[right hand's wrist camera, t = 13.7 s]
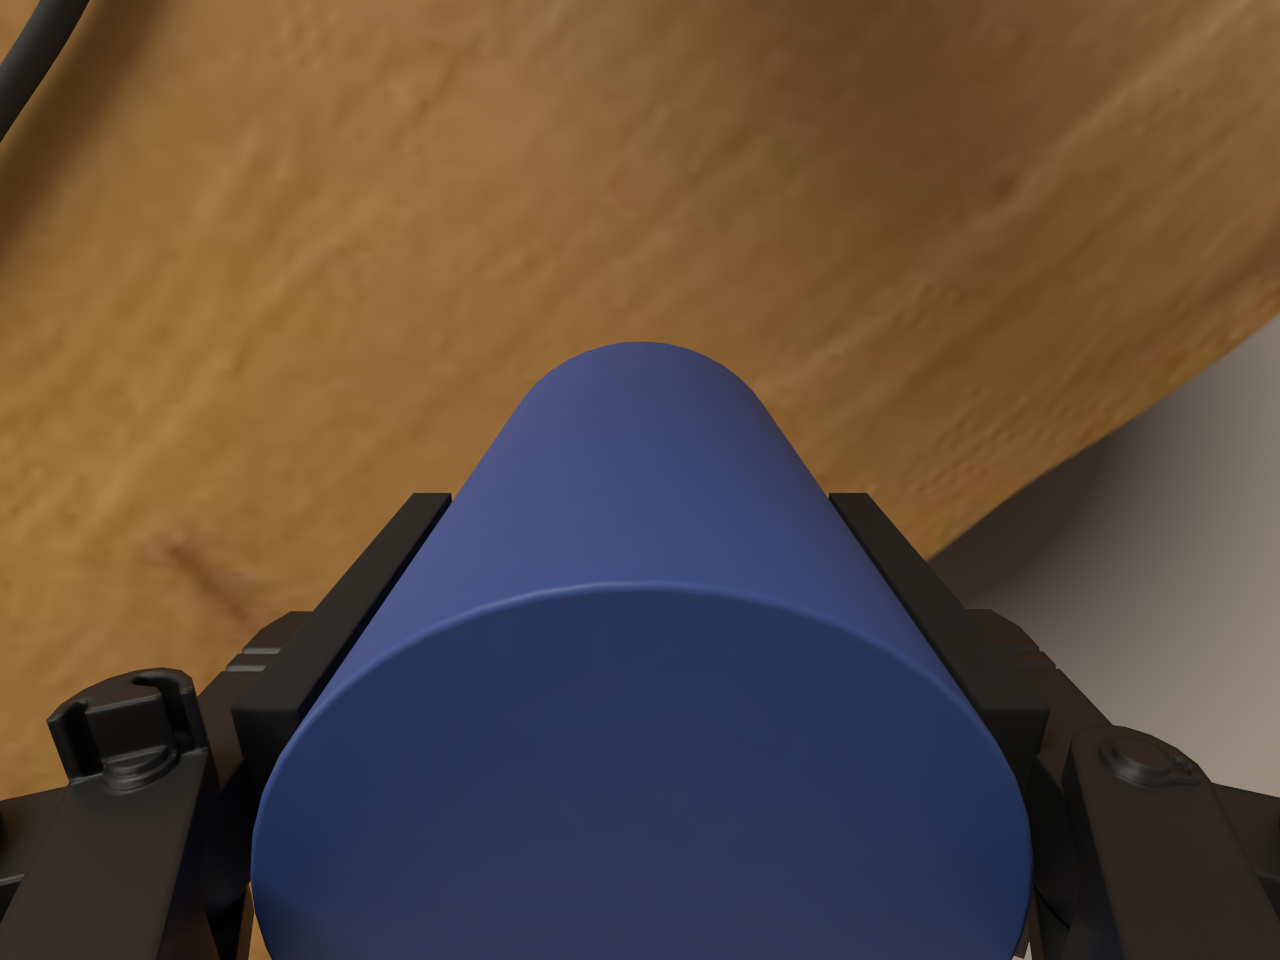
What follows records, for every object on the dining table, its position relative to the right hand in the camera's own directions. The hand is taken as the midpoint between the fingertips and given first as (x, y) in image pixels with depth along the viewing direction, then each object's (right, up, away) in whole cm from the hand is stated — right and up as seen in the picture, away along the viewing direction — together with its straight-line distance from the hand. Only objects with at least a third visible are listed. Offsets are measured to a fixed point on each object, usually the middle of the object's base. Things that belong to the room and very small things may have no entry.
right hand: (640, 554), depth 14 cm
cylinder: (0, +1, +4) cm, 4 cm away
